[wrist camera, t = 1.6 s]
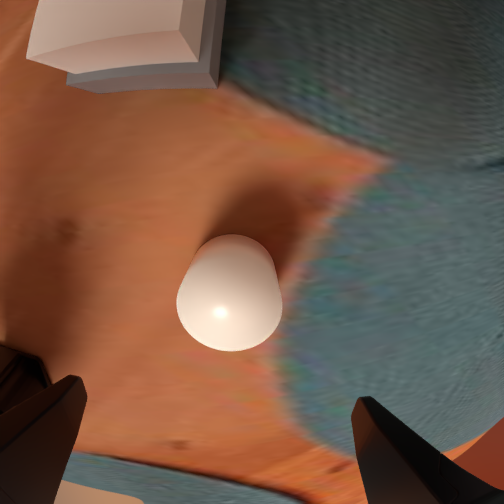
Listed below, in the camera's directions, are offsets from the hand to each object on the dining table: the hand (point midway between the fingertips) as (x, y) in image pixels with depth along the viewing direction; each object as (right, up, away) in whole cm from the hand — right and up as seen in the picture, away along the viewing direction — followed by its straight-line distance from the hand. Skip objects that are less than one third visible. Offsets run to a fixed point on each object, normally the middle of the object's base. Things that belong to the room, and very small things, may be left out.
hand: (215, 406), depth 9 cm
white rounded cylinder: (0, +3, +10) cm, 10 cm away
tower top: (-4, +16, +2) cm, 16 cm away
